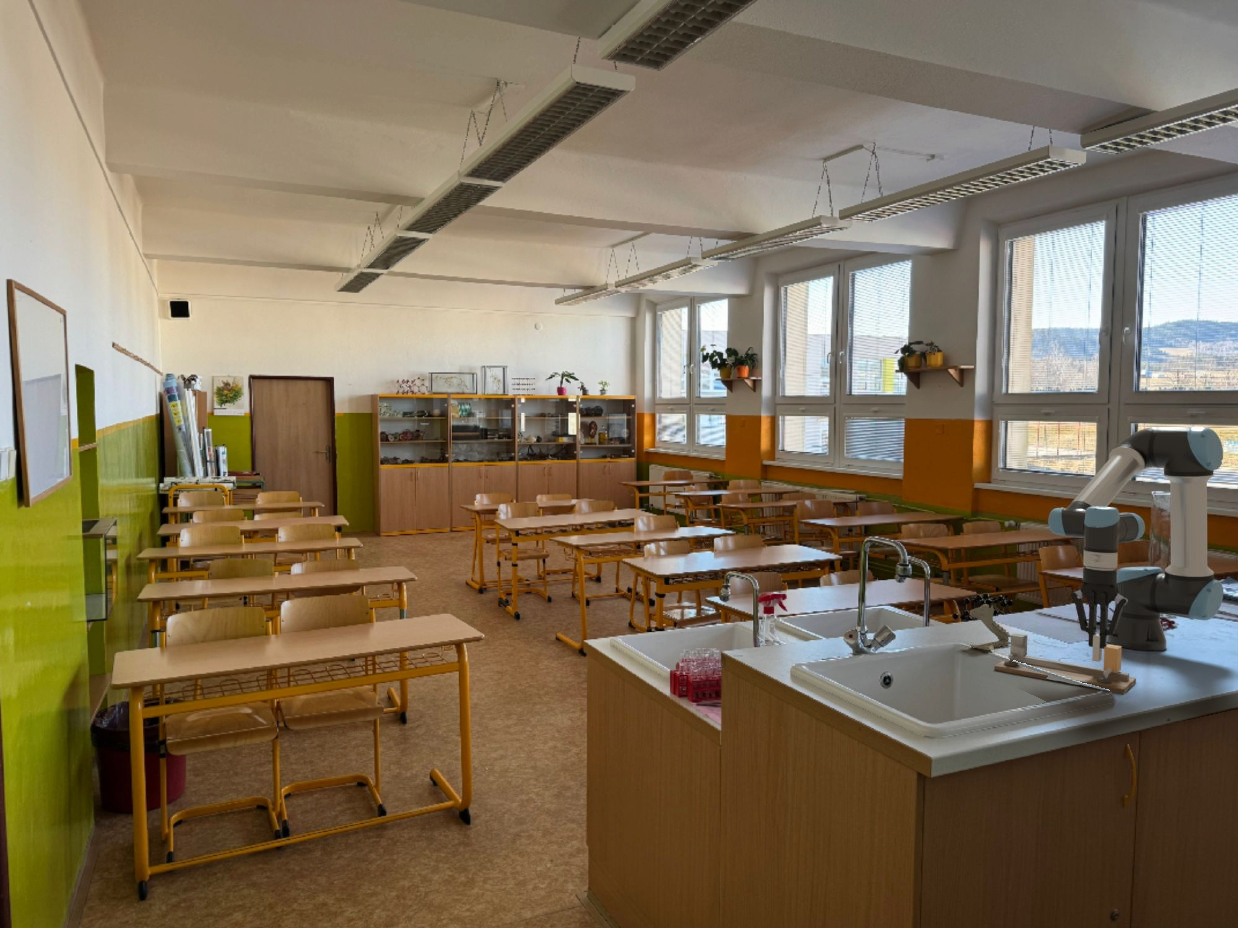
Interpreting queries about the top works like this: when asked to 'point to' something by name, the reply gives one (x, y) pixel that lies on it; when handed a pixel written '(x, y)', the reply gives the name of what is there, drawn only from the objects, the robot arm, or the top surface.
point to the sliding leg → (1112, 659)
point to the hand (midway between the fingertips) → (1096, 660)
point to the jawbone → (990, 627)
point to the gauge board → (1069, 674)
